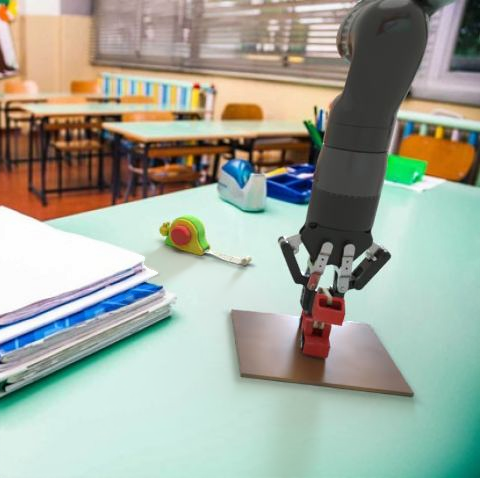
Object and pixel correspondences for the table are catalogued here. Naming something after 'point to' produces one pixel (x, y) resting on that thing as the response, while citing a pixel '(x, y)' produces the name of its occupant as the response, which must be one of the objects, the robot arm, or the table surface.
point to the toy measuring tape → (193, 238)
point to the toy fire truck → (321, 323)
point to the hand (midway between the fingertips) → (318, 312)
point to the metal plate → (312, 367)
